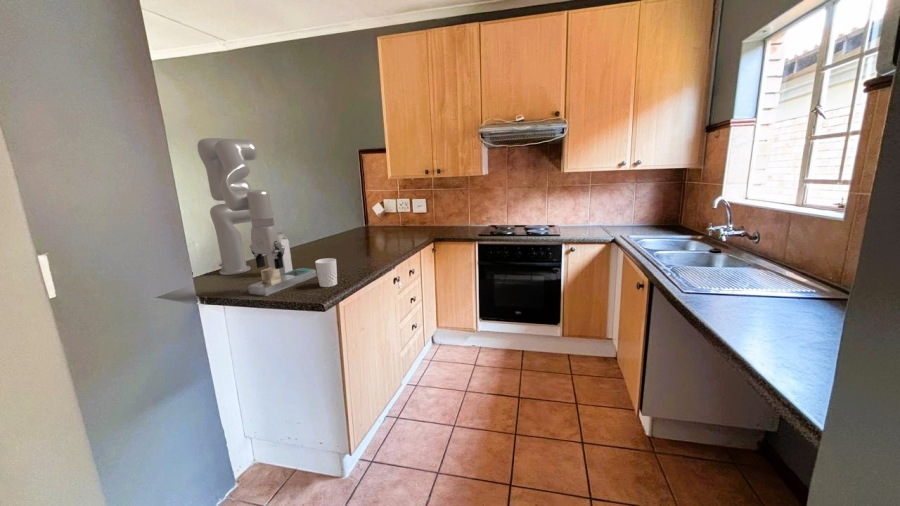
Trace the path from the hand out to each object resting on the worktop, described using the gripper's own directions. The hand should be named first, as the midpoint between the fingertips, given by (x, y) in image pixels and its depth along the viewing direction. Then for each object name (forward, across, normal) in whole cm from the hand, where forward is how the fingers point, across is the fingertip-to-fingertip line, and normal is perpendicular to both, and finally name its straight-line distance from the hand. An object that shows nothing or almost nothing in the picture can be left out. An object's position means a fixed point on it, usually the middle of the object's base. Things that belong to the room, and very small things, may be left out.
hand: (270, 267), depth 140 cm
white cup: (+9, +17, +11) cm, 23 cm away
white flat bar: (+9, -1, +6) cm, 11 cm away
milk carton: (+8, -16, +18) cm, 26 cm away
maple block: (+9, -1, 0) cm, 9 cm away
